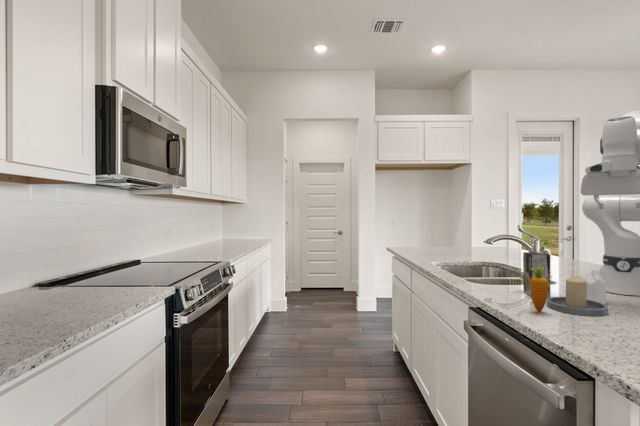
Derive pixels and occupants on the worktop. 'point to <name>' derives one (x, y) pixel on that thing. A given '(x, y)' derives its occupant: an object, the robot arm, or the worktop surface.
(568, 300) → the candle
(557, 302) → the dish
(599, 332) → the worktop surface
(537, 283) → the carrot
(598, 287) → the white plastic bottle
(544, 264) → the coffee box
